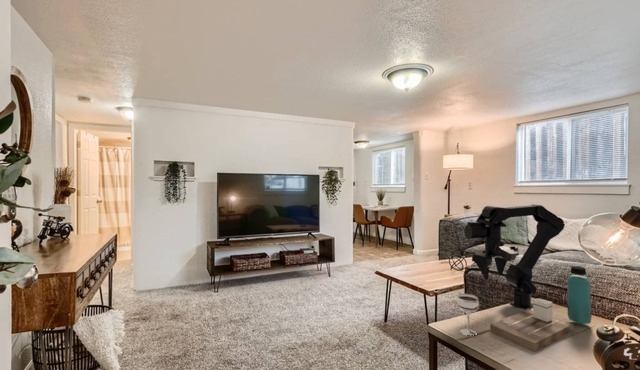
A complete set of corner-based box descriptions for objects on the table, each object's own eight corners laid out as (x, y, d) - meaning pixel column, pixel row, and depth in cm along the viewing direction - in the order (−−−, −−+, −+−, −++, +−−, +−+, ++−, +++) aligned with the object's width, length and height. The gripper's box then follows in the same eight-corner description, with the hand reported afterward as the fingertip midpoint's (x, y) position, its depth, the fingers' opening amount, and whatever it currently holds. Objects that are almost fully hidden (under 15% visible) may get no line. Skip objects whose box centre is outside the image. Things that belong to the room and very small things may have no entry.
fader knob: (538, 314, 112) (538, 297, 112) (552, 319, 108) (552, 302, 108) (533, 317, 110) (532, 300, 110) (547, 322, 106) (547, 304, 106)
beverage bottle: (596, 329, 106) (595, 270, 105) (573, 327, 107) (573, 269, 107) (584, 320, 112) (583, 264, 112) (563, 319, 114) (562, 264, 113)
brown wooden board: (528, 315, 117) (528, 308, 117) (573, 331, 105) (573, 323, 105) (490, 331, 107) (490, 324, 106) (534, 351, 94) (534, 342, 94)
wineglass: (484, 333, 105) (483, 298, 105) (471, 339, 102) (471, 302, 102) (465, 325, 111) (464, 292, 111) (453, 331, 108) (452, 296, 107)
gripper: (498, 244, 113) (499, 287, 114) (527, 238, 122) (528, 278, 123) (470, 239, 123) (471, 279, 124) (499, 234, 132) (499, 271, 133)
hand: (493, 277), depth 125 cm, fingers open, 9 cm apart
